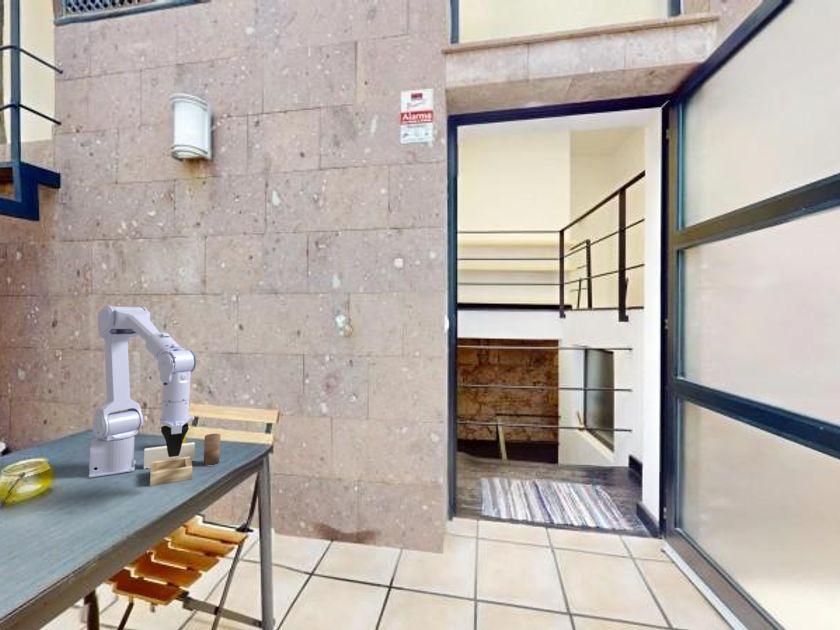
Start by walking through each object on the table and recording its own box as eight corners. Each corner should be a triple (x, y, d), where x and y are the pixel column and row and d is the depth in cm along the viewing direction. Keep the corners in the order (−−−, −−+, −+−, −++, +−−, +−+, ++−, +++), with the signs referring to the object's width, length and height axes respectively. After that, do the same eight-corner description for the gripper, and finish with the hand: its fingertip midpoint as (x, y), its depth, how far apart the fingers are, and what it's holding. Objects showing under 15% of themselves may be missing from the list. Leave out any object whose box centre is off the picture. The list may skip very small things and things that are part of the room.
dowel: (204, 467, 110) (205, 438, 110) (202, 462, 114) (203, 434, 114) (220, 464, 112) (221, 436, 112) (218, 460, 116) (219, 432, 116)
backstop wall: (143, 469, 107) (144, 450, 107) (143, 466, 109) (144, 448, 109) (194, 461, 114) (194, 444, 114) (193, 459, 116) (194, 442, 116)
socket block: (150, 486, 97) (150, 474, 97) (150, 473, 105) (150, 461, 105) (191, 478, 102) (192, 467, 102) (189, 467, 110) (189, 456, 110)
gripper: (197, 404, 92) (195, 462, 92) (192, 392, 104) (190, 444, 104) (161, 407, 88) (159, 468, 88) (160, 395, 100) (158, 448, 100)
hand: (173, 455), depth 96 cm, fingers closed
